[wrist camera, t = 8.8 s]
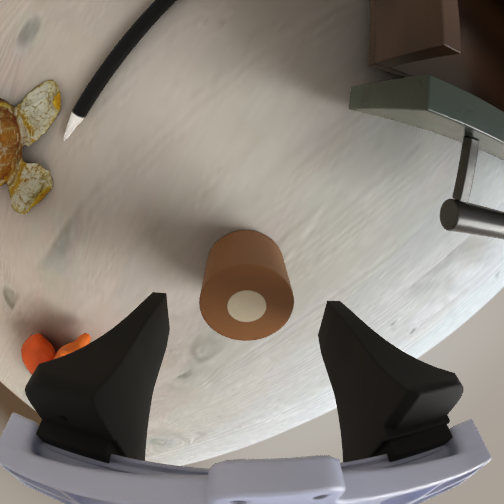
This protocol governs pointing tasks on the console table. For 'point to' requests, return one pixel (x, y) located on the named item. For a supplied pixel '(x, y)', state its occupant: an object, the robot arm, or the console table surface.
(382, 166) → the console table surface
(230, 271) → the brown short cylinder
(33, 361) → the orange chunky figure
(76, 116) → the pen
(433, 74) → the drawer
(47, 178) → the fruit
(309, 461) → the robot arm
